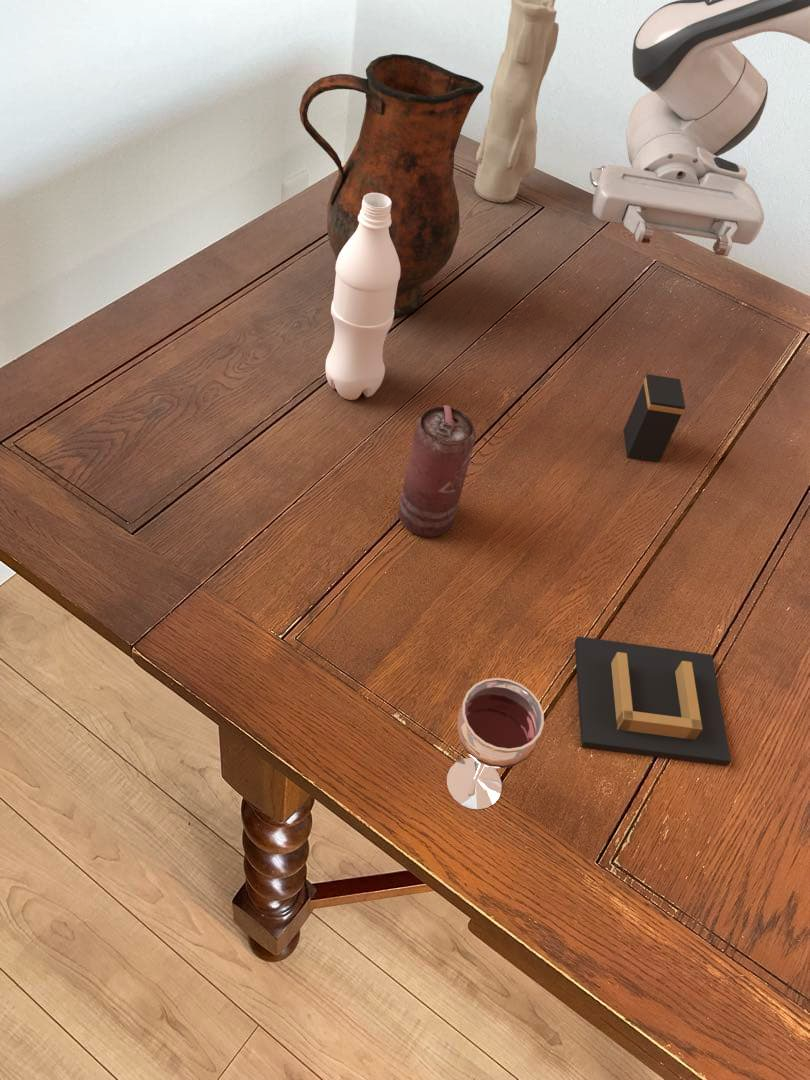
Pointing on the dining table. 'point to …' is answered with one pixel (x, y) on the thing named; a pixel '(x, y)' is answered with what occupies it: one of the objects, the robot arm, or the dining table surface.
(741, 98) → the robot arm
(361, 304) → the water bottle
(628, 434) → the upright block
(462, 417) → the can
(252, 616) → the dining table surface
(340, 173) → the pitcher
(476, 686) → the wineglass
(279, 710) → the dining table surface
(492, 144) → the vase
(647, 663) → the base pad
